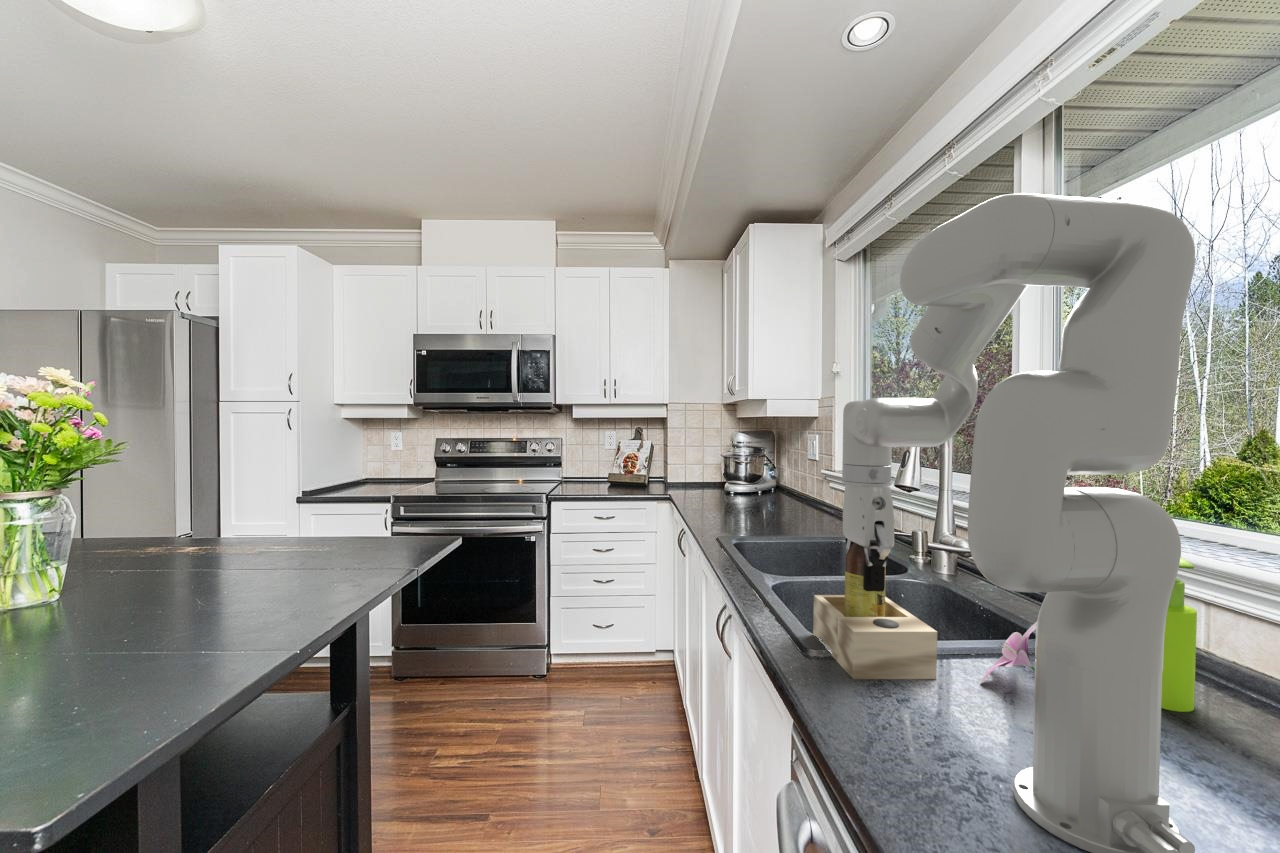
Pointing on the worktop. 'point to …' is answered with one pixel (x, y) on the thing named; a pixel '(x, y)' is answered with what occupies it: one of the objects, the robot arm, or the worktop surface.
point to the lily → (1014, 651)
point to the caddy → (876, 641)
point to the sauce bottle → (860, 587)
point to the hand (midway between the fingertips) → (864, 583)
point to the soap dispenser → (1179, 651)
